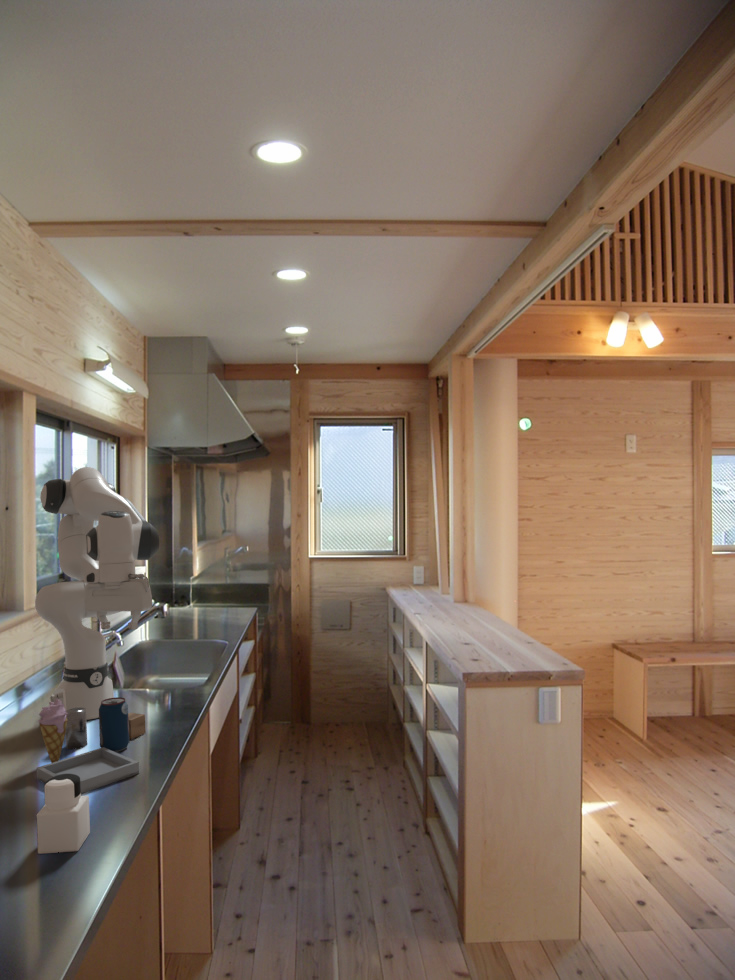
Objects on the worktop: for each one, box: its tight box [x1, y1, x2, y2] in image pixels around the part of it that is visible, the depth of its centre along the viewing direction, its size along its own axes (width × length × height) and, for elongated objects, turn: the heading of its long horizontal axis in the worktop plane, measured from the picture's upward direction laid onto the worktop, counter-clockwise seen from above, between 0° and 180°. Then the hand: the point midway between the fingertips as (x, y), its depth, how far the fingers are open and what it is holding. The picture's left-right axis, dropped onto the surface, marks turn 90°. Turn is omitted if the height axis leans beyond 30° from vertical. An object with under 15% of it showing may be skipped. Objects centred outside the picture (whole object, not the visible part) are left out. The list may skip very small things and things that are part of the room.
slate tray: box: [36, 747, 140, 795], centre depth 162 cm, size 16×16×3 cm
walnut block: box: [128, 712, 146, 740], centre depth 190 cm, size 5×5×5 cm
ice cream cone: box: [38, 699, 68, 763], centre depth 171 cm, size 7×6×15 cm
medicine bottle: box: [35, 774, 91, 855], centre depth 131 cm, size 7×7×12 cm
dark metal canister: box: [65, 708, 88, 750], centre depth 183 cm, size 5×5×9 cm
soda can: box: [98, 696, 130, 753], centre depth 180 cm, size 7×7×12 cm
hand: (119, 629), depth 182 cm, fingers open, 8 cm apart
